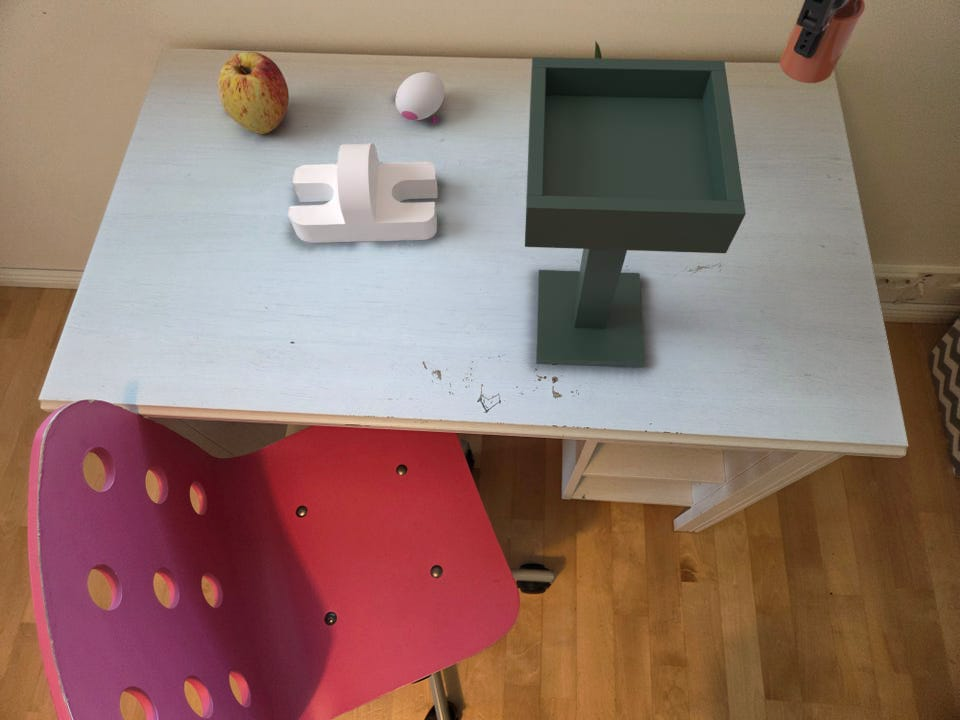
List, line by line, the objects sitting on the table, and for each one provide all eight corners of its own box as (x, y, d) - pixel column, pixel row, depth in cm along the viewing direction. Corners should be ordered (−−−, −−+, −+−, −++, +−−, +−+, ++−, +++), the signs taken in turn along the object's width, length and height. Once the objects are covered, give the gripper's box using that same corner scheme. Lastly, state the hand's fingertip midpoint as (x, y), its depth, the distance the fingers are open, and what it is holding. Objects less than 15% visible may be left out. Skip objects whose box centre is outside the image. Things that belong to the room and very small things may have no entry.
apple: (307, 131, 96) (287, 72, 87) (246, 155, 94) (219, 98, 85) (283, 90, 100) (262, 29, 91) (224, 113, 98) (196, 53, 89)
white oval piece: (431, 109, 101) (409, 66, 98) (464, 105, 95) (442, 59, 92) (395, 138, 99) (371, 95, 95) (427, 135, 93) (402, 89, 89)
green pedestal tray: (653, 265, 84) (724, 60, 57) (661, 384, 77) (746, 213, 50) (522, 260, 85) (532, 56, 58) (517, 378, 78) (526, 207, 51)
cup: (816, 42, 82) (845, -22, 74) (843, 76, 79) (876, 13, 72) (769, 54, 81) (795, -10, 74) (795, 88, 78) (824, 26, 71)
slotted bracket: (294, 243, 87) (271, 191, 79) (302, 184, 92) (281, 128, 83) (436, 239, 87) (429, 187, 78) (437, 180, 91) (431, 124, 82)
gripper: (895, -71, 58) (815, 89, 73) (971, -145, 63) (881, 19, 78) (815, -104, 61) (753, 57, 76) (894, -173, 65) (821, -9, 80)
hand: (818, 37), depth 77 cm, fingers closed on cup, 6 cm apart
